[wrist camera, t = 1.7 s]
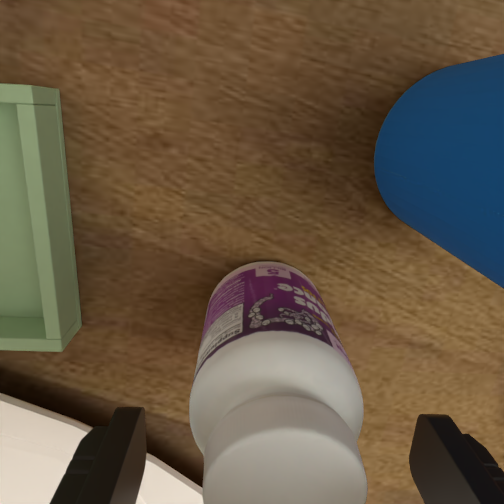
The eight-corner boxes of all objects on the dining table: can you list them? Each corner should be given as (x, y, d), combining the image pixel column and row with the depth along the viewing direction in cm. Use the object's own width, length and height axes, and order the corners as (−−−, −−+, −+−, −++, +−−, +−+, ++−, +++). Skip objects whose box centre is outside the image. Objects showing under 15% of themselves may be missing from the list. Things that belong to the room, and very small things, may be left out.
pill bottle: (345, 294, 18) (448, 471, 9) (280, 378, 20) (314, 602, 11) (246, 234, 17) (252, 366, 8) (184, 326, 19) (132, 527, 10)
